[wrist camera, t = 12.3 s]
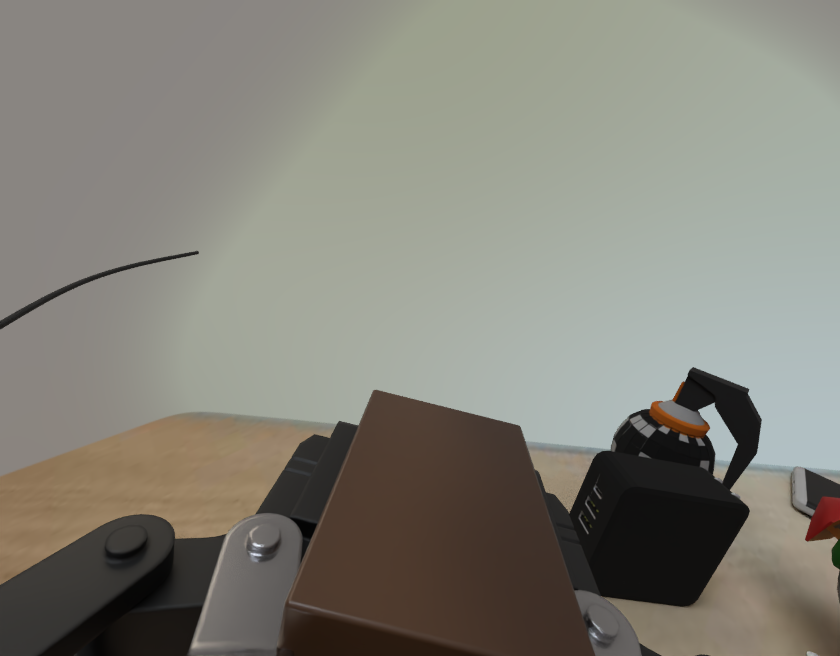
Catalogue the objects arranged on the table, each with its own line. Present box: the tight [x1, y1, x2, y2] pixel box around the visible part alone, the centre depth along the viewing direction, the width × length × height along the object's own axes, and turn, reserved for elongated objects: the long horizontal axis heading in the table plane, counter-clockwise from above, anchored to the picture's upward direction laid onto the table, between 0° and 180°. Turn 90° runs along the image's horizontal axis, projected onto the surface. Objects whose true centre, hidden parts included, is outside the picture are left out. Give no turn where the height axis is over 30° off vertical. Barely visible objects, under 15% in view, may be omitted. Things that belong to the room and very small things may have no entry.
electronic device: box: [569, 451, 750, 606], centre depth 31 cm, size 4×10×10 cm, turn 94°
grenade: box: [611, 367, 762, 490], centre depth 42 cm, size 11×10×15 cm
